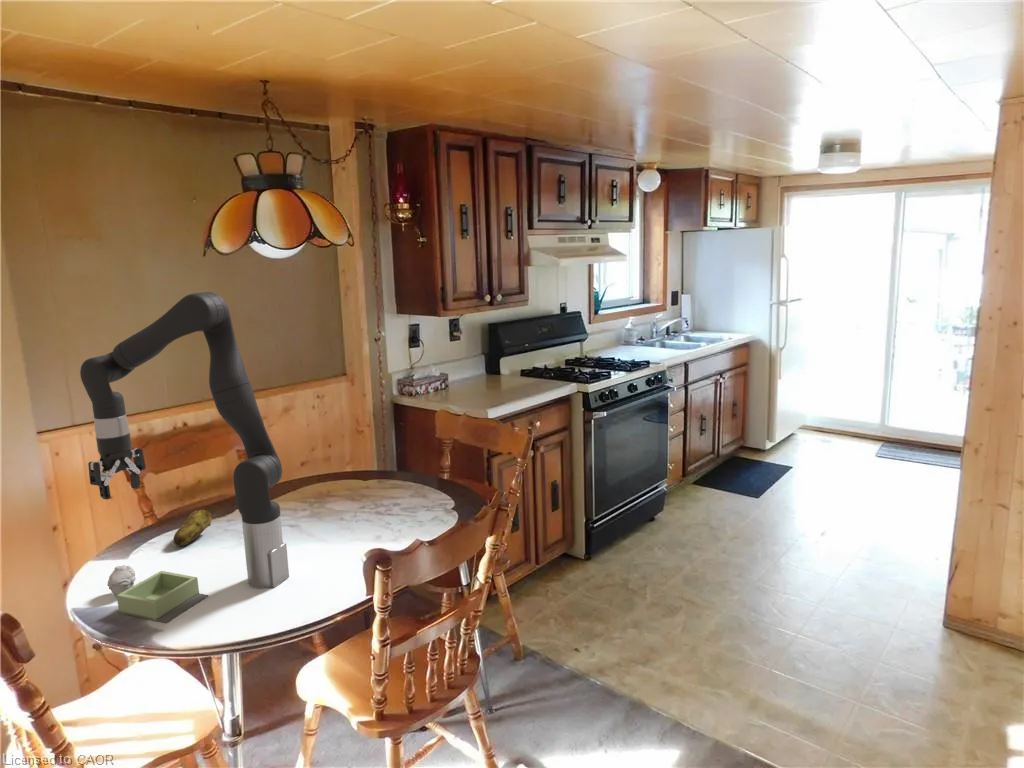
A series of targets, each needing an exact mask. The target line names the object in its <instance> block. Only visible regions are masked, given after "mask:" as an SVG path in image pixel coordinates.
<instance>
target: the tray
mask: <svg viewBox="0 0 1024 768" xmlns="http://www.w3.org/2000/svg"><path fill="white" fill-rule="evenodd" d="M199 590H200V589H199V581H198V577H197V576H192V575H187V574H181V573H175V572H171V571H170V572H169V571H165V570H160V571H158V572H157V573H154V574H153V575H151V576H149V577H147V578H146V579H144V580H142V581H140V582H138V583H136V584H135V585H133V587H131V588H129V589H127V590H125V591H124V592H122V593H120V594H118V595H116V601H117V605H118V607H117V609H118V613H119V614H120V615H121V614H122V615H127V616H131V617H136V618H140V619H144V620H149V621H153V622H158V623H164V624H168V623H169V622H171V621H172V620H174V619H176V618H177V617H178V616H180V615H181V614H183V613H184V612H186V611H188V610H190V609H191V608H193V607H194V606H196V605H197V604H199V603H201V602H202V601H204V600H205V599H207V598H208V597H209V594H206V593H200V591H199Z"/></svg>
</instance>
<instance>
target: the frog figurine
mask: <svg viewBox="0 0 1024 768" xmlns="http://www.w3.org/2000/svg"><path fill="white" fill-rule="evenodd" d="M136 579H137V578H136V572H135V570H134V568H133V567H131V566H130V565H125V564H124V565H123V564H122V565H117V566H116V567H114V570H113V571H112V572H111V574H110V575H109V576H108V581H107V587H108V589H109V591H111V592H112V593H113V594H114V595H115V596H117V595H118V594H120V593H122V592H124V591H125V590H127V589H129V588H131V587H133V586H135V585H134V584H135V581H136Z"/></svg>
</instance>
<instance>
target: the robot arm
mask: <svg viewBox="0 0 1024 768" xmlns="http://www.w3.org/2000/svg"><path fill="white" fill-rule="evenodd" d="M234 331H235V330H234V326H233V322H232V316H231V313H230V310H229V307H228V303H227V302H226V300H225V299H224V298H223V297H222V296H221V295H220V294H219V293H217V292H212V291H206V292H205V291H204V292H194V293H189V294H187V295H185V296H183V297H182V298H181V299H180V300H179V301H177V302H176V303H175V304H174V305H173V306H172V307H170V309H168V311H166V312H165V313H164V314H163V315H161V316H160V317H159V318H158V319H156V320H155V321H154V322H152V323H150V324H149V325H147V326H146V327H145V328H142V329H141V330H139V331H138V332H136V333H134V334H132V335H131V336H130V337H128V338H125V340H122V341H121V342H119V343H117V345H115V346H114V347H113V349H112V351H111V352H109V353H107V354H104V355H99V356H95V357H90V358H87V359H86V360H84V361H83V362H82V364H81V366H80V370H79V371H80V372H79V375H80V380H81V382H82V384H83V387H84V389H85V391H86V393H87V396H88V397H89V400H90V401H91V404H92V405H91V406H92V411H93V412H92V413H93V419H94V420H93V421H94V426H93V427H94V434H95V440H96V447H97V452H98V454H99V456H100V458H99V460H97V461H89V462H88V465H87V466H88V475H89V485H92V486H98V490H99V495H100V498H102V499H103V500H110V499H112V495H111V490H110V485H109V483H110V480H111V479H112V478H113V477H114V475H115V474H118V473H119V472H121V471H127V472H128V473H130V474H129V479H130V485H131V488H132V489H135V490H137V489H139V488H140V485H141V479H140V473H141V472H142V471H144V470H146V468H147V467H146V463H145V457H144V451H143V449H142V448H141V447H140V448H139V447H132V446H133V445H132V440H131V433H130V425H129V420H128V417H127V414H126V413H127V412H126V405H125V400H124V395H123V394H122V393H120V392H118V391H113V390H112V387H111V384H110V383H113V382H117V381H119V380H122V379H124V378H125V377H126V376H128V375H129V374H130V373H132V371H134V370H135V369H136V368H137V367H140V366H142V365H143V364H145V363H146V362H149V361H150V360H151V359H154V358H155V357H156V356H158V355H159V354H160V353H162V352H163V350H164V349H165V348H166V347H167V346H169V344H171V343H173V342H174V341H175V340H178V339H180V338H182V337H185V336H187V335H191V334H193V333H196V332H203V336H204V338H205V340H206V343H207V346H208V350H209V358H210V359H209V373H208V374H209V376H208V381H209V383H208V384H209V390H210V392H211V395H212V398H213V401H214V404H215V407H216V409H217V412H218V413H219V415H220V416H221V418H222V419H223V420H224V421H225V423H227V424H228V425H229V427H231V428H232V429H233V431H235V433H236V434H237V435H238V437H239V438H240V441H241V443H242V445H243V448H244V450H245V453H246V457H247V458H246V459H245V460H242V461H241V462H239V463H237V465H236V467H235V468H234V470H233V478H232V479H233V480H232V481H233V489H234V494H235V495H234V496H235V502H236V507H237V509H238V512H239V514H240V515H241V522H242V532H243V533H242V534H243V542H244V544H243V545H244V553H245V555H244V556H245V561H246V562H245V563H246V564H245V565H246V572H247V574H246V575H247V582H248V583H247V584H248V585H249V586H250V587H252V588H257V589H265V588H276V587H277V586H278V585H280V584H281V583H282V582H284V581H286V580H287V579H288V578H290V572H289V571H290V570H289V560H288V558H289V557H288V548H287V543H286V542H284V540H283V539H284V538H283V529H282V517H281V516H282V515H281V508H280V505H279V503H278V502H276V501H274V500H273V501H272V500H271V496H270V495H271V494H270V489H271V488H272V487H274V486H275V485H276V484H278V483H279V482H280V480H281V478H282V476H283V467H282V462H281V460H280V458H279V456H278V453H277V451H276V449H275V446H274V445H273V442H272V440H271V439H270V436H269V433H268V431H267V428H266V427H265V423H264V420H263V417H262V415H261V412H260V409H259V406H258V404H257V400H256V397H255V393H254V390H253V387H252V384H251V382H250V379H249V376H248V374H247V371H246V367H245V365H244V362H243V358H242V355H241V352H240V350H239V347H238V343H237V340H236V336H235V335H236V334H235V332H234ZM132 458H133V461H132Z"/></svg>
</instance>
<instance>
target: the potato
mask: <svg viewBox="0 0 1024 768" xmlns="http://www.w3.org/2000/svg"><path fill="white" fill-rule="evenodd" d="M212 516H213V515H212V513H211V511H208V510H206V509H195V510H194V511H193V512H191V513H190V514H189V515H188V517H186V519H185V520H184V522H183V523H182V524H181V526H179V528H178V529H177V531H176V532H175V534H174V535H173V543H174V544H175V546H179V547H184V546H187V545H188V544H189V543H190V542H193V541H194V540H196V539H197V538H198V537H199V536H200V535H201V534H202V533H203V532H204V531H205V530H206V529H207V528H208V527H211V525H212Z"/></svg>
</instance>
